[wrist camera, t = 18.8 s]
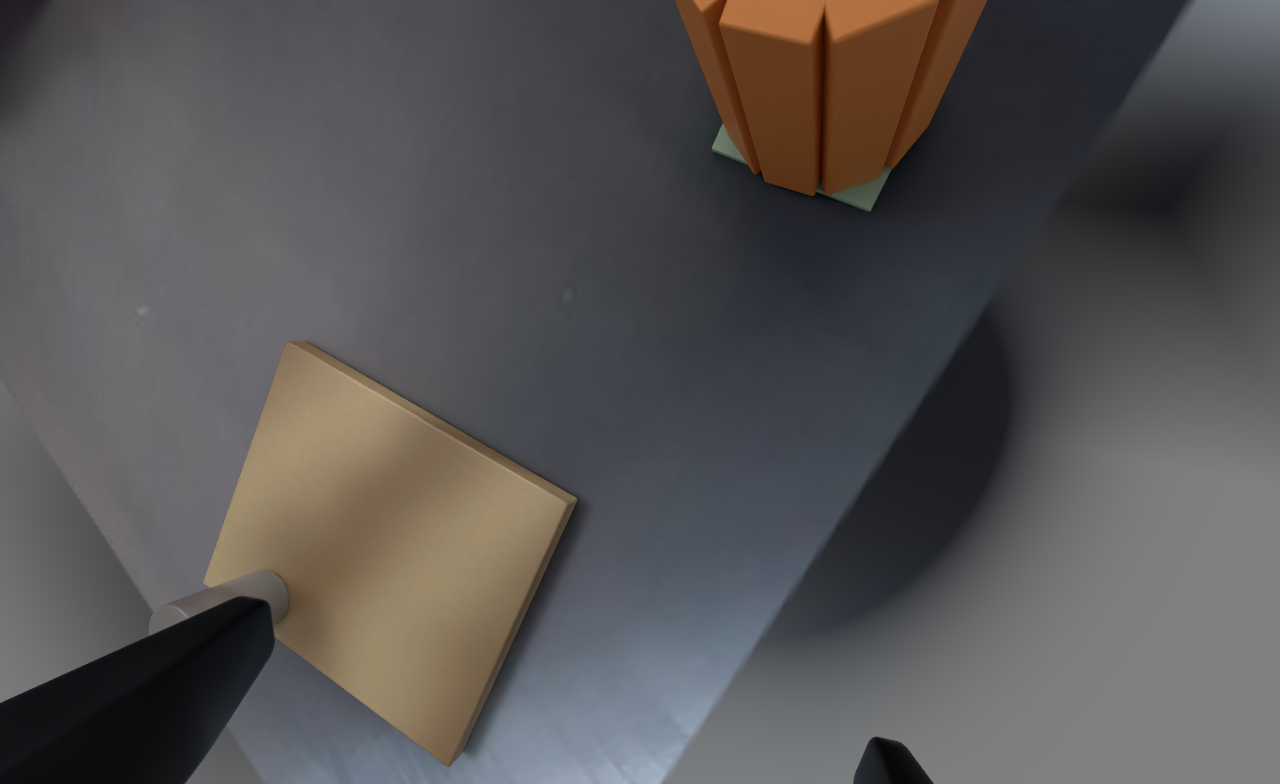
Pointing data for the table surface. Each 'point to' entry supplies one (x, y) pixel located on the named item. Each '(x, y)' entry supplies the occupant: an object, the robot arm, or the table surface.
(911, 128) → the pen holder
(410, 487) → the ring board
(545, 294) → the table surface
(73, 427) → the table surface
